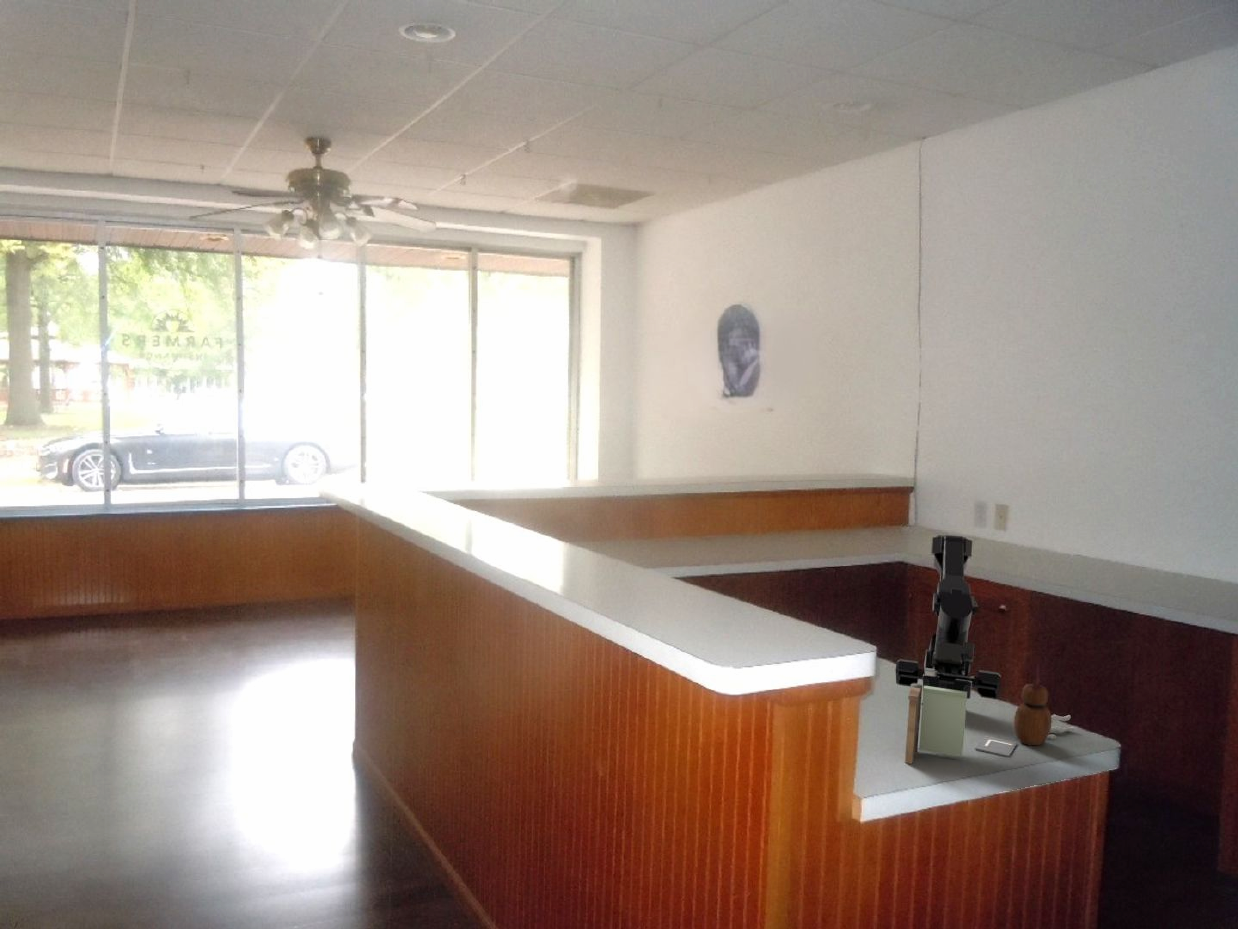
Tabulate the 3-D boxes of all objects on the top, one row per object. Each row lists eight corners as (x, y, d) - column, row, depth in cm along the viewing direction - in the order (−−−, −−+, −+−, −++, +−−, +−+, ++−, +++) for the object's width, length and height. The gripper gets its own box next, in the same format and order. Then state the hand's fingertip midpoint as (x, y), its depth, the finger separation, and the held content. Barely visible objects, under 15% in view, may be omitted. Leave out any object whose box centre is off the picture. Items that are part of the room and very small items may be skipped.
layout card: (983, 737, 194) (984, 735, 194) (1016, 744, 191) (1016, 742, 191) (975, 749, 187) (975, 747, 187) (1008, 757, 184) (1009, 755, 184)
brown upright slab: (906, 748, 186) (911, 682, 185) (917, 750, 186) (922, 684, 185) (902, 762, 180) (907, 694, 178) (914, 764, 179) (919, 696, 178)
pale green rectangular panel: (918, 750, 184) (923, 688, 183) (919, 747, 185) (924, 685, 184) (962, 757, 181) (966, 694, 180) (962, 754, 183) (967, 692, 182)
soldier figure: (1081, 743, 196) (1038, 730, 191) (1061, 753, 199) (1018, 741, 194) (1068, 707, 201) (1026, 693, 196) (1049, 717, 204) (1007, 704, 199)
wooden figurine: (1025, 734, 197) (1031, 659, 195) (1054, 743, 192) (1060, 667, 191) (1007, 741, 192) (1013, 665, 191) (1036, 751, 188) (1043, 673, 187)
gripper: (900, 617, 191) (889, 691, 182) (1004, 630, 184) (999, 707, 175) (901, 647, 199) (891, 719, 190) (1001, 661, 192) (996, 736, 183)
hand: (943, 719), depth 184 cm, fingers closed
